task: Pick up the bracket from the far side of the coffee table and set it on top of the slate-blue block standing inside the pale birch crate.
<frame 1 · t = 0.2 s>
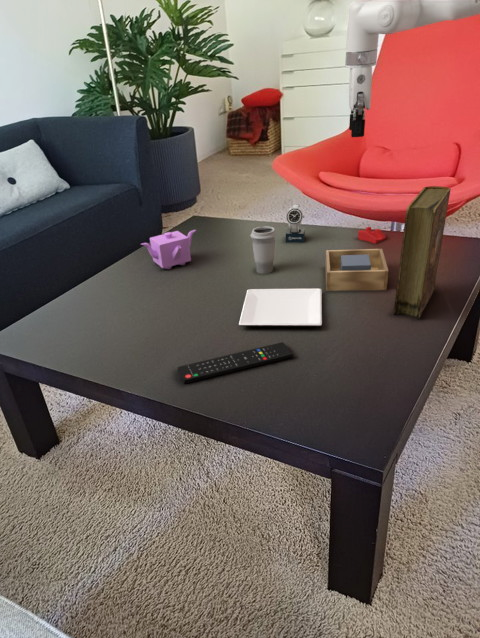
hand: (356, 133, 141), 31 cm above the table, tool pointing down, fingers open, 9 cm apart
book: (414, 304, 124), on the table
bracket: (371, 241, 160), on the table
remote control: (234, 367, 109), on the table
plate: (281, 313, 127), on the table
grey block: (354, 278, 137), resting on crate
crate: (354, 280, 138), on the table
teapot: (173, 265, 158), on the table
cup: (264, 271, 148), on the table
watch: (295, 241, 165), on the table
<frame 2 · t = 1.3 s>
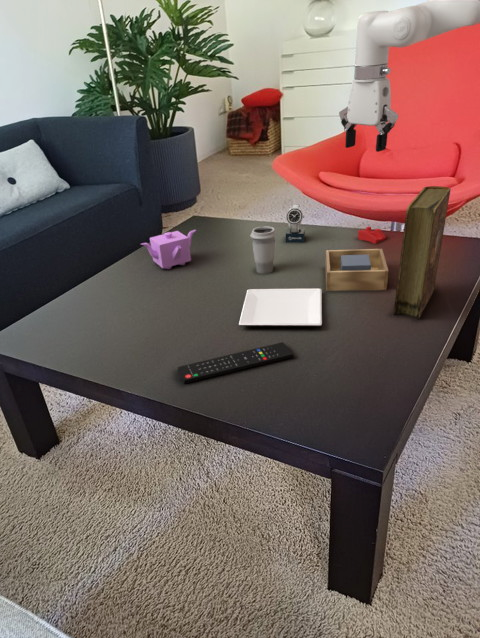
hand: (365, 148, 136), 29 cm above the table, tool pointing down, fingers open, 9 cm apart
nothing on the table moved.
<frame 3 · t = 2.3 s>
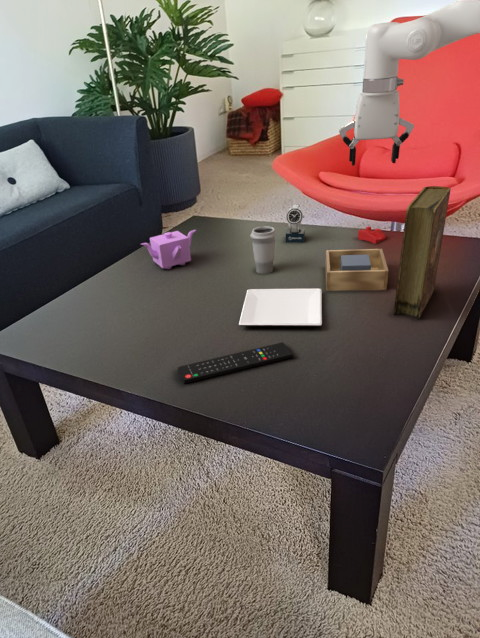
hand: (373, 163, 131), 27 cm above the table, tool pointing down, fingers open, 9 cm apart
nothing on the table moved.
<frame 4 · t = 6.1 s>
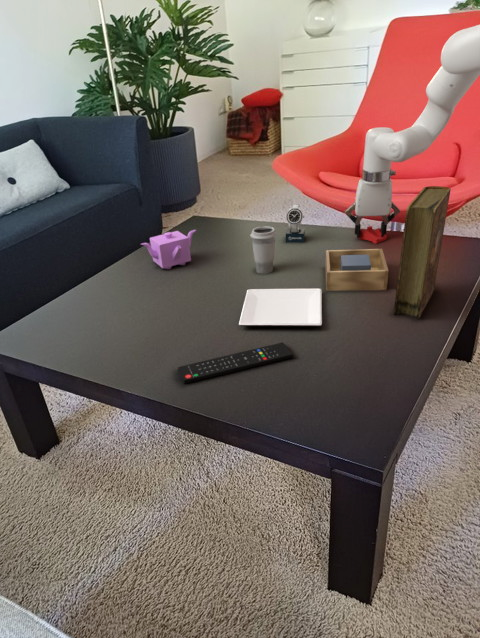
hand: (369, 235, 159), 1 cm above the table, tool pointing down, fingers closed on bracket, 6 cm apart
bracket: (372, 240, 159), on the table, touching gripper
everything else where it was.
when the fingers open (7 cm above the table, at t = 12.8 s): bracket stays where it is, resting on grey block.
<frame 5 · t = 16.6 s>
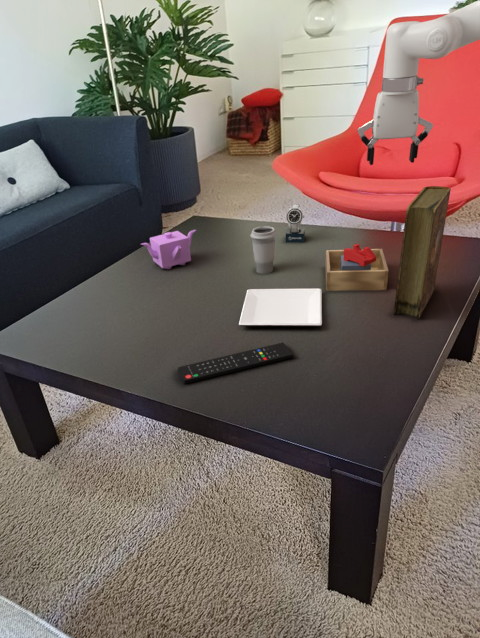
hand: (391, 162, 131), 26 cm above the table, tool pointing down, fingers open, 9 cm apart
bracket: (359, 261, 134), point 5 cm above the table, touching grey block
everything else where it was.
at the end: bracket 1.1 cm off-centre on the grey block, point 4.8 cm above the grey block's base; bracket tilted 0°; the gripper is holding nothing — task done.
